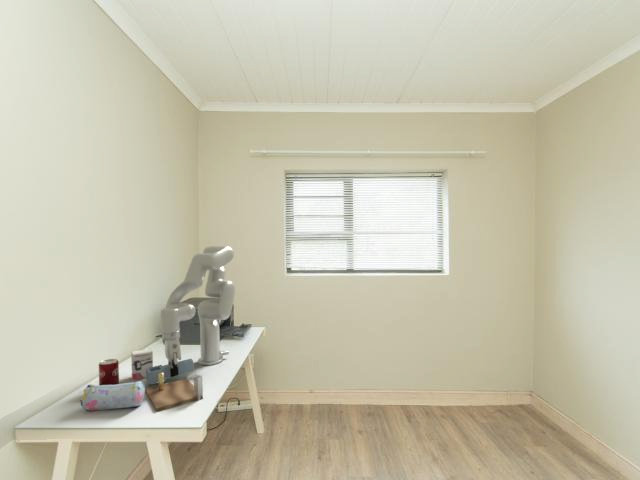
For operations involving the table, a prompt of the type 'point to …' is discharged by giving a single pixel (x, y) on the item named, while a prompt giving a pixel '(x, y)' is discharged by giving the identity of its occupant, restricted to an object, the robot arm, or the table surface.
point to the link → (168, 370)
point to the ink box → (141, 362)
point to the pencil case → (113, 396)
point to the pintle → (161, 381)
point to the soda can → (109, 372)
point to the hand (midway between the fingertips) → (173, 374)
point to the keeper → (197, 385)
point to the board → (171, 394)
